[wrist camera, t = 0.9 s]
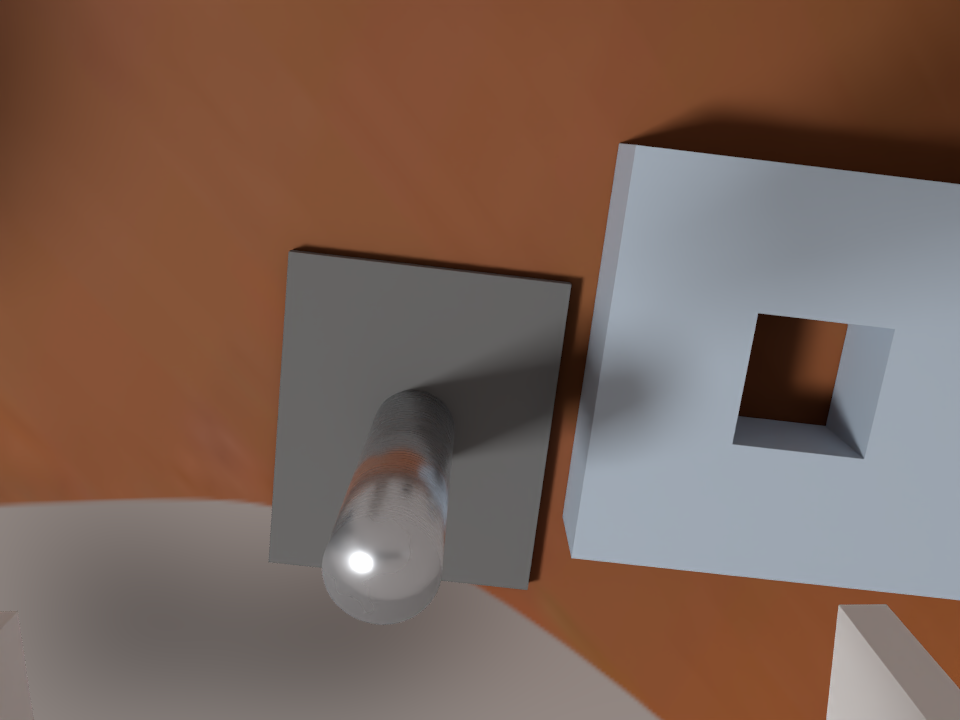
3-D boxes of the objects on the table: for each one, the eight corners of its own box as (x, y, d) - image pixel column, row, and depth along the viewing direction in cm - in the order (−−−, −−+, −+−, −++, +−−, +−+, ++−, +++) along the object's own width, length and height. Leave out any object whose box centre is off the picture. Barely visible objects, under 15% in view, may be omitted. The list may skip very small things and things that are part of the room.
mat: (271, 556, 35) (268, 562, 34) (291, 249, 32) (288, 251, 32) (526, 583, 35) (527, 589, 35) (570, 282, 32) (571, 284, 32)
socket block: (562, 515, 35) (571, 557, 31) (618, 143, 31) (635, 144, 28) (920, 555, 35) (967, 600, 32) (1014, 191, 31) (1079, 199, 28)
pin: (369, 462, 33) (317, 617, 23) (376, 385, 33) (326, 509, 22) (449, 471, 34) (435, 630, 23) (458, 394, 33) (447, 522, 22)
